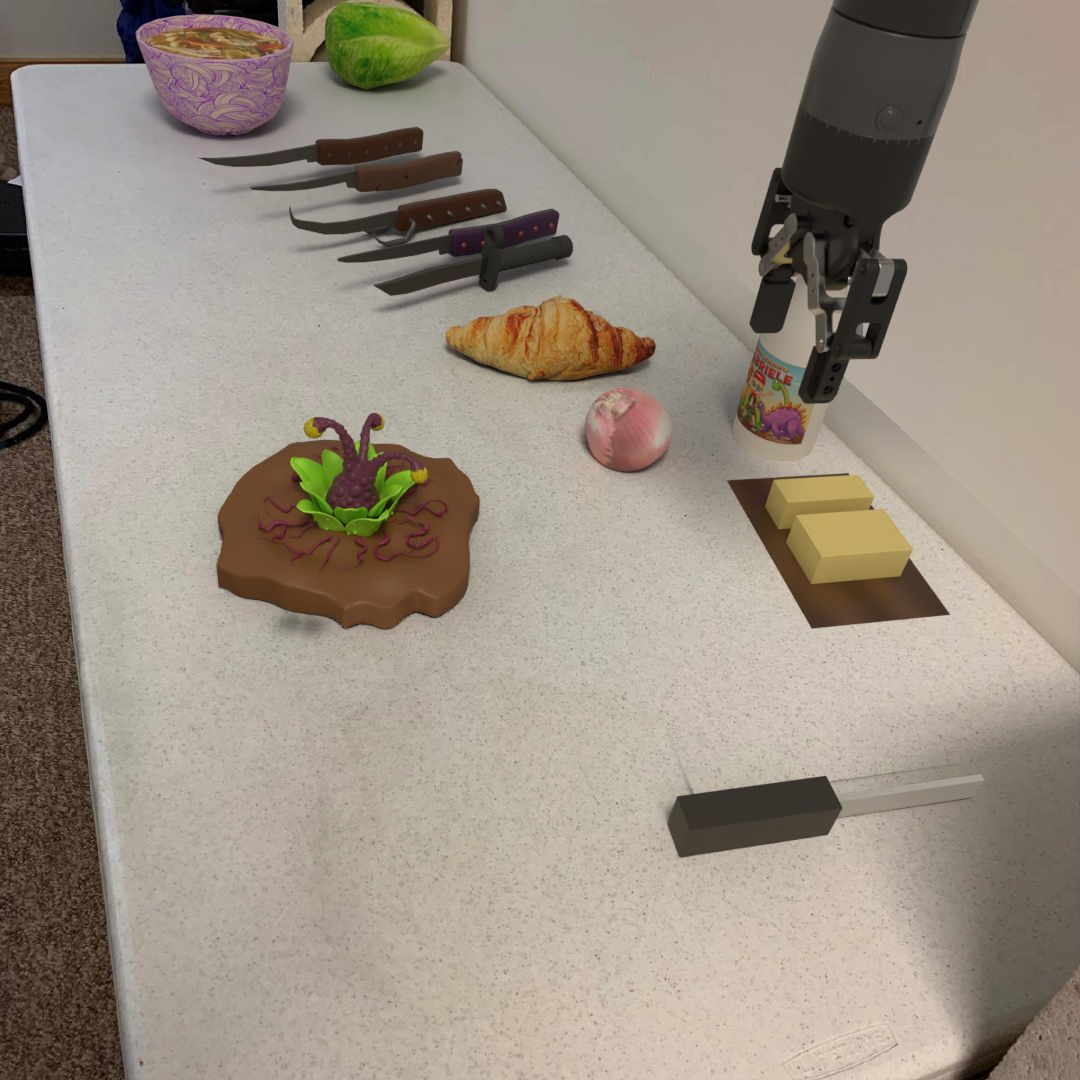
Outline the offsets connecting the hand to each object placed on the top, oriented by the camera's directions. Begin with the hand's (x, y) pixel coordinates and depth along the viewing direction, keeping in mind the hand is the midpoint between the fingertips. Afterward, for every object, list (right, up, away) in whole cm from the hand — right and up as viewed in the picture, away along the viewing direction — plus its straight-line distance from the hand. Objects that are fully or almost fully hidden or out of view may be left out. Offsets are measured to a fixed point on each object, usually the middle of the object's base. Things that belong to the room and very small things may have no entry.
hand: (788, 363), depth 65 cm
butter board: (+8, -12, +18) cm, 24 cm away
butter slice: (+7, -9, +20) cm, 23 cm away
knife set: (-33, +25, +54) cm, 69 cm away
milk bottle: (+6, -3, +29) cm, 30 cm away
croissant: (-15, +7, +37) cm, 40 cm away
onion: (-9, -4, +25) cm, 27 cm away
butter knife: (+2, -29, -2) cm, 29 cm away
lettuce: (-41, +61, +94) cm, 120 cm away
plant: (-31, -11, +14) cm, 36 cm away
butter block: (+9, -13, +16) cm, 23 cm away
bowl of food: (-60, +46, +74) cm, 106 cm away
